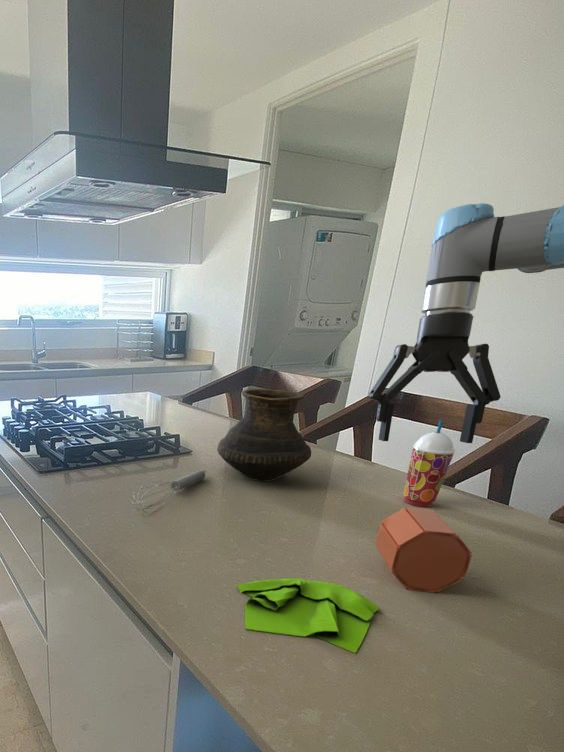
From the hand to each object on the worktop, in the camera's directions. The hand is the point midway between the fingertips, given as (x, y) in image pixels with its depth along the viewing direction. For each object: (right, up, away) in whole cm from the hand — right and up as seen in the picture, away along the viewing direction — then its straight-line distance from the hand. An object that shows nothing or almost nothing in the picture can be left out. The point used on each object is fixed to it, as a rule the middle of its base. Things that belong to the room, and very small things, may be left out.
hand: (423, 441), depth 87 cm
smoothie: (+18, -10, +31) cm, 37 cm away
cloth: (-27, -28, -11) cm, 40 cm away
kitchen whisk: (-41, -8, +33) cm, 53 cm away
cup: (-3, -24, -2) cm, 24 cm away
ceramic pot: (-15, -2, +47) cm, 50 cm away
